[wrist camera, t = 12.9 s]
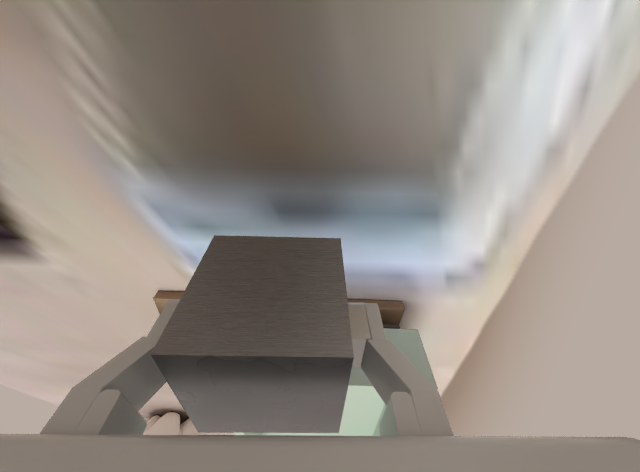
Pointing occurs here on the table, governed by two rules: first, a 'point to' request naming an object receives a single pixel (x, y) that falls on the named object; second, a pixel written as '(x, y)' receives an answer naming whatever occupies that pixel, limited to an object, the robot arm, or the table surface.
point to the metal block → (262, 337)
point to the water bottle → (169, 425)
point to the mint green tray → (373, 390)
